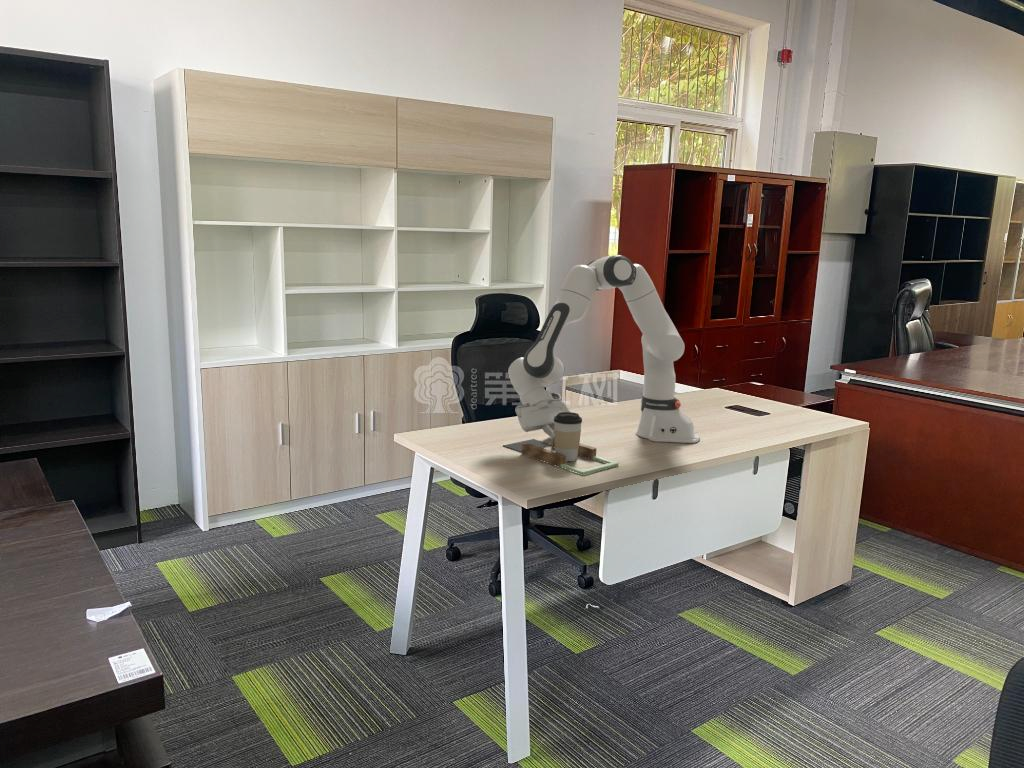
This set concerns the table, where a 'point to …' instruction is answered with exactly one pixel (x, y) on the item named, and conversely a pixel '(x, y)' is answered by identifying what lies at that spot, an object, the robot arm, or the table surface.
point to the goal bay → (594, 469)
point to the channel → (553, 456)
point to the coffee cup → (567, 434)
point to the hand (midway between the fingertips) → (556, 437)
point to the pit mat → (518, 445)
